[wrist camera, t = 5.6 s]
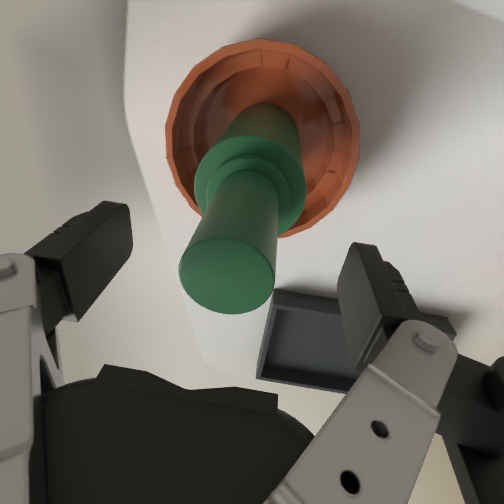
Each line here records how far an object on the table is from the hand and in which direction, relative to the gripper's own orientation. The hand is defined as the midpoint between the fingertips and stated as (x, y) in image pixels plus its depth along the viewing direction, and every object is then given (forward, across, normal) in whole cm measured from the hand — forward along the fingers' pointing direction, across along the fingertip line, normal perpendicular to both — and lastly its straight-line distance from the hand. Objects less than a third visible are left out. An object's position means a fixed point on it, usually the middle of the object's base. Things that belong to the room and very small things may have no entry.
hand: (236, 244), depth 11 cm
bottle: (+16, 0, 0) cm, 16 cm away
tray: (+16, -13, +22) cm, 30 cm away
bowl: (+16, 0, 0) cm, 16 cm away
